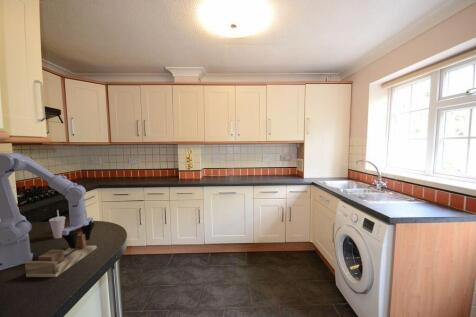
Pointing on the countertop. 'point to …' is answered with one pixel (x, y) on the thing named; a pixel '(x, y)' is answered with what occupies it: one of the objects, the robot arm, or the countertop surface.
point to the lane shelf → (56, 263)
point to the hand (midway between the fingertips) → (80, 243)
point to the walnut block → (59, 254)
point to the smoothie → (57, 225)
